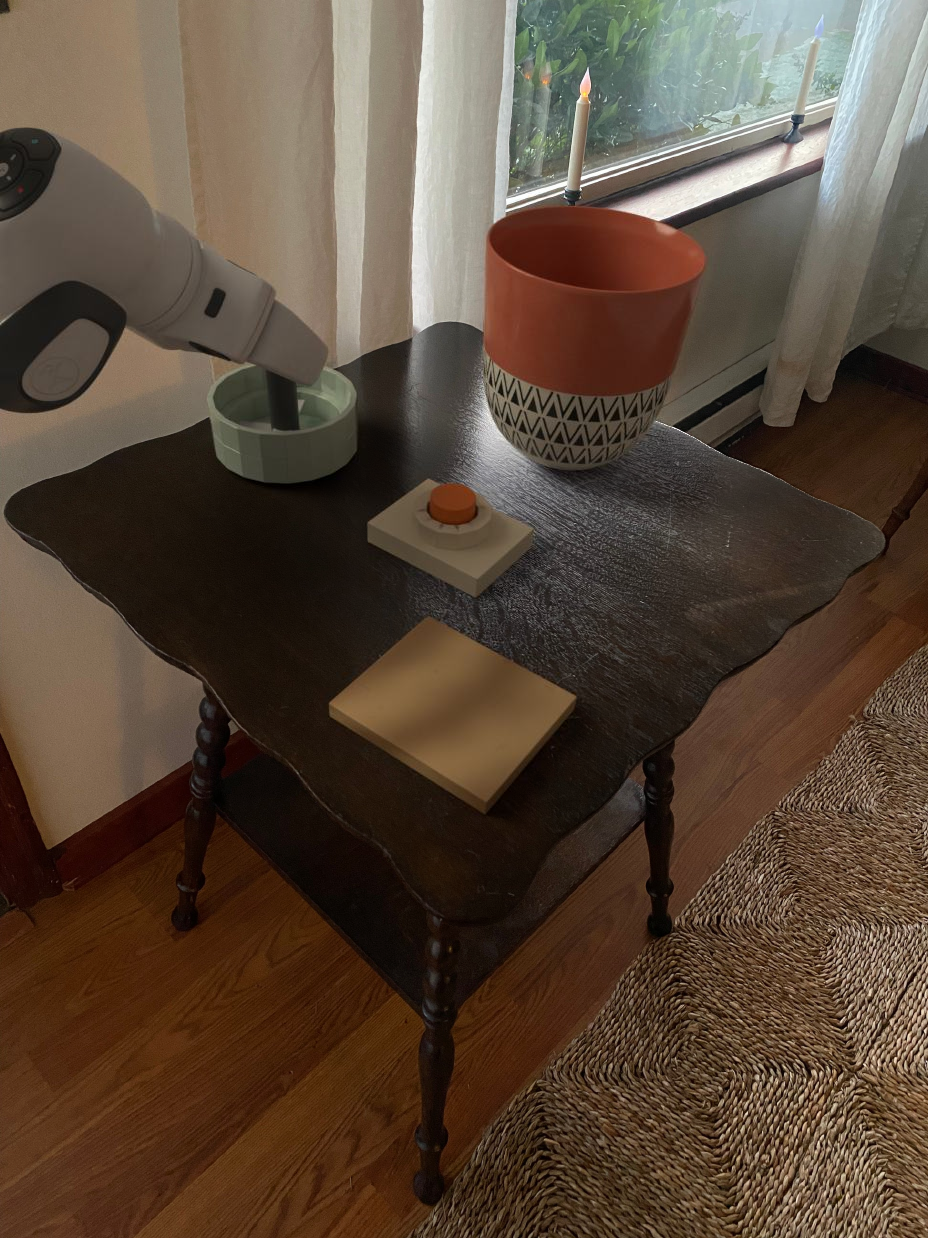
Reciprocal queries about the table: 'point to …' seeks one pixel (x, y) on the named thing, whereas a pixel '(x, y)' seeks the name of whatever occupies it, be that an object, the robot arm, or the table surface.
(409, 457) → the table surface
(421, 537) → the base
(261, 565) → the table surface
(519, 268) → the planter
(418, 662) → the cutting board
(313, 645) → the table surface
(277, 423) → the blade
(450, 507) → the release button
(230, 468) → the processor bowl
